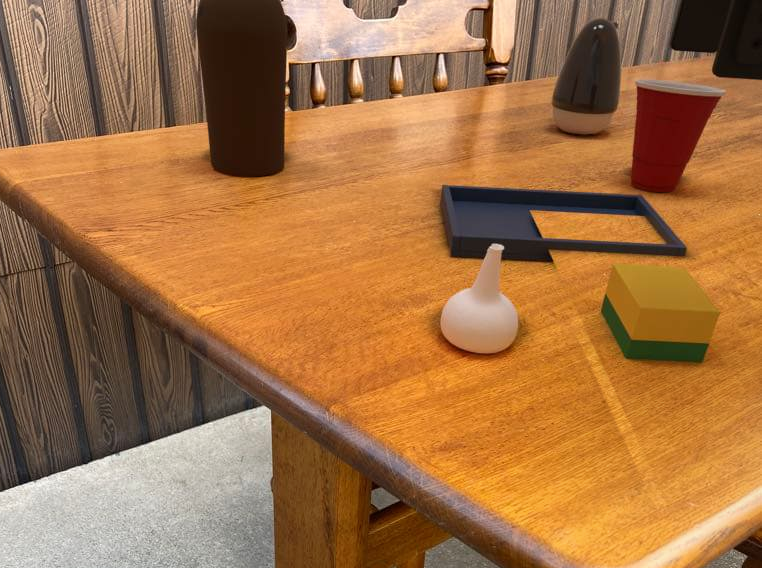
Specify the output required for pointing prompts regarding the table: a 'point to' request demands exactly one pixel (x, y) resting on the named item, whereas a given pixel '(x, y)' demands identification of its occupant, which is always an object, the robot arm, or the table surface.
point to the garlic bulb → (481, 311)
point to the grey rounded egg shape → (589, 80)
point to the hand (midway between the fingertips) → (714, 63)
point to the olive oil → (244, 83)
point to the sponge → (658, 313)
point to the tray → (519, 230)
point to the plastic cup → (668, 130)
